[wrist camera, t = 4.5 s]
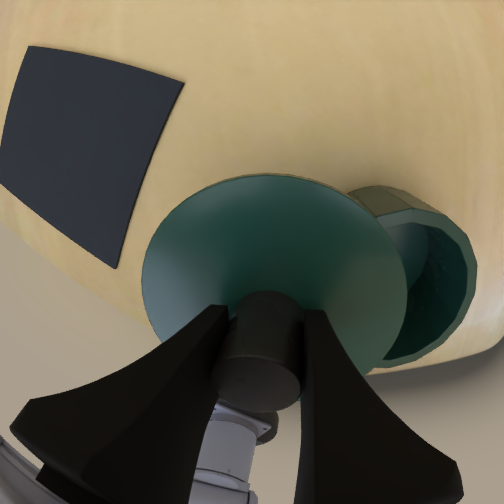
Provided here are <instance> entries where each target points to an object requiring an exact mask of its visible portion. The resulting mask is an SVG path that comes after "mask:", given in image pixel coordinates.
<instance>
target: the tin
mask: <svg viewBox="0 0 504 504" xmlns="http://www.w3.org/2000/svg"><path fill="white" fill-rule="evenodd" d="M347 195H349V196H350V197H352V198H353V199H354V200H356V201H357V202H358V203H360V204H361V205H362V206H363V207H365V208H366V209H367V210H368V211H369V212H370V213H371V214H372V215H373V216H374V217H375V218H376V219H377V220H378V221H379V222H380V224H381V225H382V226H383V227H384V229H385V230H386V232H387V233H388V235H389V236H390V237H391V239H392V240H393V242H394V244H395V246H396V248H397V250H398V252H399V255H400V257H401V259H402V263H403V266H404V270H405V273H406V280H407V290H408V292H407V307H406V312H405V317H404V321H403V324H402V327H401V329H400V332H399V335H398V336H397V338H396V340H395V342H394V344H393V345H392V347H391V349H390V350H389V351H388V353H387V354H386V355H385V357H384V358H383V359H382V360H381V361H380V362H379V363H378V364H377V365H376V366H375V367H374V368H391V367H395V366H399V365H402V364H406V363H410V362H413V361H416V360H418V359H419V358H421V357H423V356H424V355H426V354H428V353H429V352H431V351H432V350H434V349H436V348H437V347H439V346H440V345H441V344H443V343H444V342H445V341H446V340H447V339H448V338H449V336H450V335H451V334H452V333H453V332H454V331H455V330H456V329H457V327H458V326H459V325H460V324H461V323H462V321H463V319H464V317H465V315H466V313H467V311H468V309H469V306H470V304H471V302H472V299H473V297H474V294H475V289H476V278H477V261H476V258H475V255H474V252H473V249H472V246H471V244H470V241H469V238H468V236H467V234H465V233H464V232H463V231H462V230H461V229H460V228H459V227H458V226H457V225H456V224H455V223H454V222H453V221H452V220H450V219H449V218H448V217H447V216H446V215H444V214H443V213H441V212H439V211H438V210H436V209H435V208H433V207H431V206H430V205H428V204H426V203H425V202H423V201H421V200H419V199H418V198H416V197H414V196H412V195H411V194H409V193H407V192H405V191H403V190H398V189H395V188H392V187H386V186H370V187H364V188H360V189H357V190H354V191H352V192H350V193H348V194H347Z"/></svg>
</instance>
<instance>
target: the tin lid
mask: <svg viewBox="0 0 504 504" xmlns="http://www.w3.org/2000/svg"><path fill="white" fill-rule="evenodd" d="M141 283H142V296H143V301H144V306H145V310H146V312H147V315H148V318H149V321H150V323H151V325H152V327H153V329H154V331H155V333H156V335H157V336H158V338H159V339H160V341H161V342H162V343H163V342H165V341H166V340H167V339H169V338H170V337H172V336H173V335H174V334H175V333H177V332H178V331H179V330H180V329H182V328H183V327H184V326H185V325H186V324H188V323H189V322H190V321H191V320H192V319H194V318H195V317H196V316H197V315H198V314H200V313H201V312H202V311H203V310H204V309H205V308H207V307H208V306H209V305H210V304H216V305H228V312H229V321H230V323H229V325H228V328H227V330H226V333H225V336H224V338H223V341H222V343H221V346H220V349H219V351H218V354H217V356H216V359H215V362H214V364H213V367H212V369H211V373H210V382H211V385H212V387H213V389H214V391H215V392H216V393H217V394H218V395H219V396H220V397H221V398H222V399H223V400H225V401H226V402H228V403H229V404H231V405H233V406H235V407H238V408H241V409H244V410H248V411H253V412H274V411H278V410H282V409H285V408H287V407H289V406H291V405H292V404H294V403H295V402H296V401H301V399H300V395H301V393H302V390H303V373H304V348H303V338H304V316H305V309H310V310H324V311H325V312H326V314H327V316H328V319H329V321H330V323H331V325H332V328H333V329H334V331H335V333H336V335H337V337H338V339H339V341H340V343H341V344H342V346H343V348H344V349H345V351H346V353H347V354H348V356H349V357H350V359H351V361H352V362H353V364H354V365H355V366H356V368H357V369H358V371H359V372H360V374H361V375H362V376H365V375H366V374H367V373H368V372H370V371H371V370H372V369H373V368H374V367H375V366H376V365H377V364H378V363H379V362H380V361H381V360H382V359H383V358H384V357H385V355H386V354H387V353H388V351H389V350H390V349H391V347H392V345H393V344H394V342H395V340H396V338H397V336H398V335H399V332H400V329H401V327H402V324H403V321H404V317H405V312H406V307H407V292H408V290H407V280H406V273H405V270H404V266H403V263H402V259H401V257H400V255H399V252H398V250H397V248H396V246H395V244H394V242H393V240H392V239H391V237H390V236H389V235H388V233H387V232H386V230H385V229H384V227H383V226H382V225H381V224H380V222H379V221H378V220H377V219H376V218H375V217H374V216H373V215H372V214H371V213H370V212H369V211H368V210H367V209H366V208H365V207H363V206H362V205H361V204H360V203H358V202H357V201H356V200H354V199H353V198H352V197H350V196H349V195H347V194H345V193H343V192H341V191H339V190H338V189H336V188H334V187H332V186H330V185H327V184H324V183H321V182H319V181H316V180H313V179H310V178H305V177H301V176H296V175H291V174H279V173H259V174H247V175H242V176H237V177H233V178H229V179H225V180H222V181H220V182H217V183H215V184H212V185H210V186H207V187H205V188H204V189H202V190H200V191H198V192H197V193H195V194H193V195H192V196H190V197H188V198H187V199H185V200H184V201H183V202H182V203H181V204H179V205H178V206H177V207H176V208H174V209H173V210H172V211H171V212H170V213H169V215H168V216H167V217H166V218H165V219H164V220H163V221H162V223H161V224H160V225H159V227H158V229H157V230H156V232H155V233H154V235H153V237H152V239H151V241H150V243H149V246H148V248H147V251H146V254H145V258H144V262H143V267H142V279H141Z"/></svg>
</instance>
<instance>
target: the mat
mask: <svg viewBox="0 0 504 504" xmlns="http://www.w3.org/2000/svg"><path fill="white" fill-rule="evenodd" d="M183 85H184V83H182V82H179V81H177V80H174V79H171V78H168V77H165V76H162V75H159V74H156V73H153V72H150V71H147V70H143V69H140V68H137V67H133V66H130V65H126V64H122V63H119V62H115V61H111V60H107V59H103V58H98V57H94V56H89V55H85V54H80V53H74V52H69V51H63V50H57V49H50V48H43V47H35V46H28V49H27V51H26V54H25V56H24V59H23V62H22V64H21V67H20V70H19V73H18V76H17V79H16V82H15V85H14V89H13V92H12V96H11V99H10V103H9V107H8V111H7V115H6V120H5V124H4V129H3V134H2V140H1V146H0V184H2V185H3V186H4V187H5V188H6V189H7V190H9V191H10V192H11V193H12V194H13V195H14V196H16V197H17V198H18V199H19V200H20V201H22V202H23V203H24V204H25V205H27V206H28V207H29V208H30V209H32V210H33V211H34V212H35V213H37V214H38V215H39V216H40V217H42V218H43V219H44V220H46V221H47V222H48V223H49V224H51V225H52V226H53V227H55V228H56V229H57V230H59V231H60V232H61V233H63V234H64V235H66V236H67V237H68V238H70V239H71V240H72V241H74V242H75V243H77V244H78V245H79V246H81V247H82V248H84V249H85V250H87V251H88V252H90V253H91V254H92V255H94V256H95V257H97V258H98V259H100V260H101V261H103V262H104V263H106V264H107V265H109V266H110V267H112V268H113V269H116V268H117V265H118V261H119V257H120V253H121V250H122V246H123V242H124V239H125V235H126V232H127V228H128V225H129V221H130V218H131V215H132V212H133V208H134V205H135V202H136V199H137V196H138V193H139V190H140V187H141V185H142V182H143V179H144V176H145V173H146V171H147V168H148V165H149V163H150V160H151V157H152V155H153V152H154V150H155V147H156V145H157V142H158V140H159V138H160V135H161V133H162V130H163V128H164V126H165V124H166V121H167V119H168V117H169V115H170V112H171V110H172V108H173V106H174V104H175V102H176V100H177V97H178V95H179V93H180V91H181V89H182V87H183Z"/></svg>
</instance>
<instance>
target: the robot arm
mask: <svg viewBox="0 0 504 504" xmlns="http://www.w3.org/2000/svg"><path fill="white" fill-rule="evenodd" d="M229 323H230V321H229V312H228V305H216V304H210V305H209V306H208V307H207V308H205V309H204V310H203V311H202V312H201V313H200V314H198V315H197V316H196V317H195V318H194V319H192V320H191V321H190V322H189V323H188V324H186V325H185V326H184V327H183V328H182V329H180V330H179V331H178V332H177V333H175V334H174V335H173V336H172V337H170V338H169V339H167V340H166V341H165V342H163V343H162V344H160V345H159V346H158V347H157V348H155V349H154V350H152V351H151V352H150V353H148V354H146V355H145V356H143V357H141V358H140V359H138V360H137V361H135V362H133V363H131V364H130V365H128V366H126V367H124V368H122V369H120V370H118V371H116V372H114V373H112V374H110V375H108V376H106V377H103V378H101V379H99V380H97V381H94V382H92V383H90V384H87V385H84V386H81V387H78V388H75V389H72V390H69V391H66V392H62V393H58V394H54V395H50V396H45V397H40V398H35V399H30V400H29V401H28V403H27V404H26V405H25V406H24V408H23V409H22V410H21V412H20V413H19V415H18V416H17V417H16V419H15V420H14V421H13V423H12V424H11V425H10V431H11V432H12V434H13V435H14V436H15V437H16V438H17V439H18V440H19V441H20V442H21V443H22V444H23V445H24V446H25V447H26V448H27V449H28V450H29V451H31V452H32V453H33V454H34V455H35V456H36V457H37V458H38V459H40V460H41V461H42V462H43V463H44V465H43V467H42V469H41V470H40V469H39V468H37V467H36V466H35V465H34V464H32V463H31V462H30V461H29V460H27V459H26V458H25V457H24V456H22V455H21V454H20V453H19V452H18V451H17V450H15V449H14V448H13V447H12V446H11V445H10V444H9V443H7V442H6V441H5V440H4V439H3V437H2V436H1V435H0V504H258V497H257V495H256V494H255V492H254V491H251V490H249V487H250V484H249V483H248V478H249V474H250V469H251V465H252V459H253V455H254V450H255V445H256V440H257V438H258V437H260V436H261V435H262V434H264V433H265V432H267V431H268V430H269V429H271V425H270V424H268V423H266V422H263V421H260V420H258V419H255V418H252V417H250V416H247V415H245V414H242V413H240V412H237V411H235V410H233V409H230V408H228V407H226V406H223V405H221V404H219V403H216V402H217V399H218V397H219V395H218V394H217V393H216V392H215V391H214V389H213V387H212V385H211V382H210V373H211V369H212V367H213V364H214V362H215V359H216V356H217V354H218V351H219V349H220V346H221V343H222V341H223V338H224V336H225V333H226V330H227V328H228V325H229ZM303 348H304V373H303V390H302V393H301V395H300V399H301V448H300V458H299V467H298V476H297V484H296V491H295V497H294V504H456V503H457V502H459V501H460V500H461V499H462V497H463V496H464V492H463V486H462V480H461V475H460V472H459V469H458V467H457V463H456V461H454V460H452V459H451V458H449V457H448V456H446V455H445V454H443V453H442V452H440V451H439V450H437V449H436V448H434V447H433V446H431V445H430V444H428V443H427V442H426V441H424V440H423V439H422V438H421V437H420V436H419V435H417V434H416V433H415V432H414V431H412V430H411V429H410V428H409V427H408V426H407V425H406V424H405V423H404V422H403V421H402V420H401V419H400V418H399V417H398V416H397V415H396V414H394V413H393V412H392V411H391V410H390V409H389V408H388V406H387V405H386V404H385V403H384V402H383V401H382V400H381V399H380V398H379V396H378V395H377V394H376V393H375V392H374V390H373V389H372V388H371V387H370V386H369V384H368V383H367V382H366V380H365V379H364V378H363V376H362V375H361V374H360V372H359V371H358V369H357V368H356V366H355V365H354V364H353V362H352V361H351V359H350V357H349V356H348V354H347V353H346V351H345V349H344V348H343V346H342V344H341V343H340V341H339V339H338V337H337V335H336V333H335V331H334V329H333V328H332V325H331V323H330V321H329V319H328V316H327V314H326V312H325V311H324V310H310V309H305V316H304V338H303Z"/></svg>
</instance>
